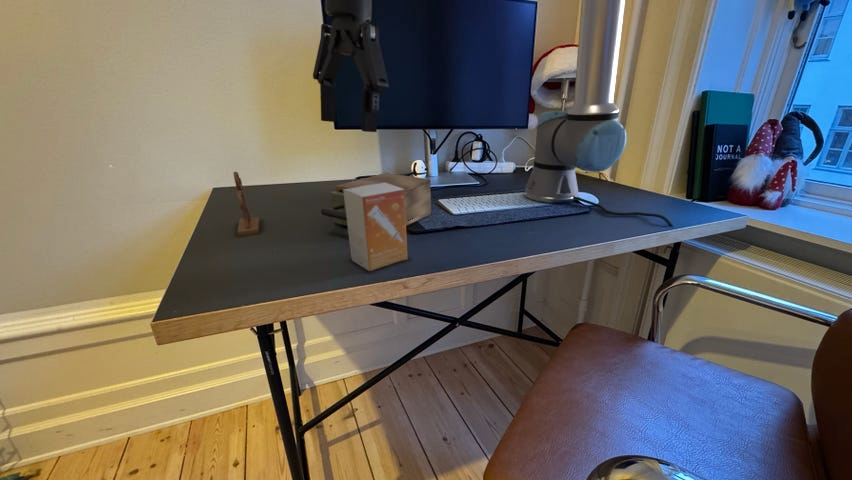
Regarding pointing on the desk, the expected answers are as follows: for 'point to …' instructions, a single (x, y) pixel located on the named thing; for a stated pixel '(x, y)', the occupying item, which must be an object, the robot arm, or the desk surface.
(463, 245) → the desk surface
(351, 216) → the small box
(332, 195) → the drawer
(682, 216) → the desk surface
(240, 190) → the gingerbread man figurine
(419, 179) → the cabinet
